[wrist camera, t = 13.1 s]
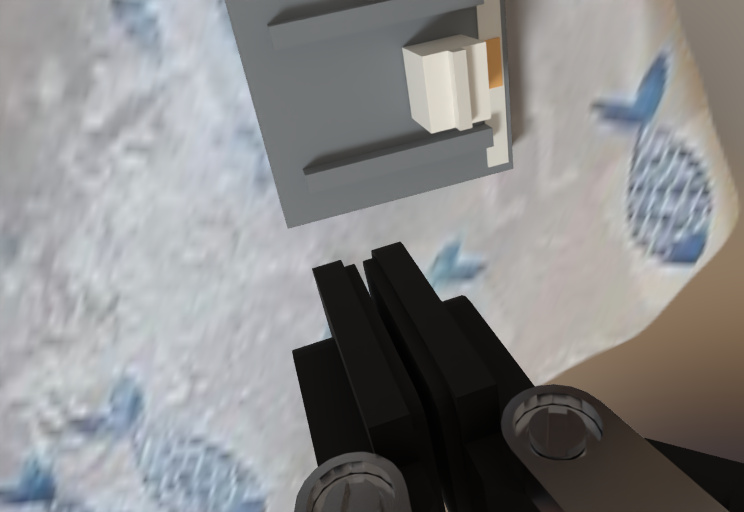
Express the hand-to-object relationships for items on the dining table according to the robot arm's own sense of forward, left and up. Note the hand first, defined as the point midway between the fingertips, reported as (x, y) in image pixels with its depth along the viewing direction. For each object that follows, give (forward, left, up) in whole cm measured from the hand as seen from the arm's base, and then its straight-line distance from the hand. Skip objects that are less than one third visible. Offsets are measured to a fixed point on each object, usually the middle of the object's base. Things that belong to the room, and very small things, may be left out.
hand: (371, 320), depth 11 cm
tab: (+1, +8, -19) cm, 21 cm away
